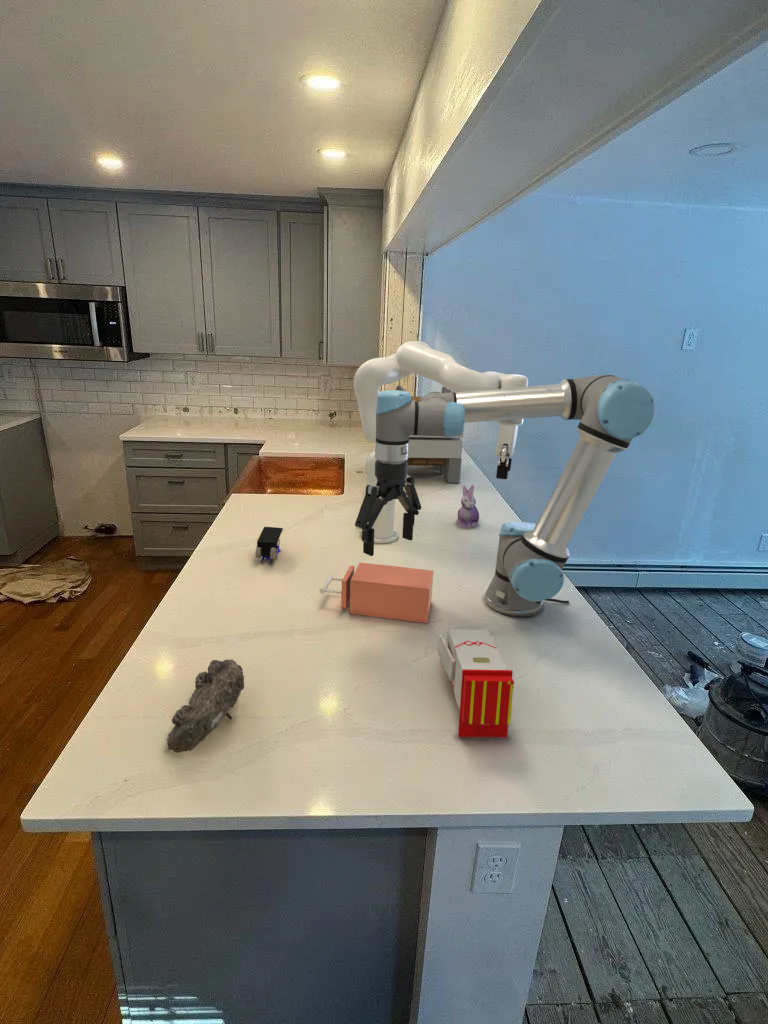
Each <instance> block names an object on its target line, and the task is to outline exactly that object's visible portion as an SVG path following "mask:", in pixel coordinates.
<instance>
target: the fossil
mask: <svg viewBox="0 0 768 1024" xmlns="http://www.w3.org/2000/svg"><path fill="white" fill-rule="evenodd" d="M243 670H244V669H243V667H242V665H240V664H237V662H236V661H235V660H234V659H232V658H231V659H227V658H226V659H224V660H223V661H222V660H217V659H212V660H211V661H210V663H209V665H208V666H207V671H201V672H199V673H198V674H197V675H196V676H195V680H194V684H195V685H194V687H195V689H194V690H193V693H192V694H191V697H190V698H189V700H188V704H184V705H182V706H181V707H180V709H177V710H176V711H175V713H174V715H173V716H172V718H171V723H172V724H173V727H172V730H171V731H170V732H168V734H167V738H166V741H167V742H166V745H167V749H168V750H169V751H173V752H174V753H176V754H178V753H182V752H188V751H189V752H192V751H193V750H195V748H196V747H197V746H199V744H200V743H201V742H203V741H204V740H205V739H206V738H207V737H208V736H209V735H210V734H211V733H212V732H214V730H215V729H217V727H218V726H219V724H220V722H221V721H222V720H223V719H224V718H225V716H226V717H227V719H229V720H233V717H232V715H230V714H229V710H230V709H231V708H234V706H235V704H236V703H237V702H238V699H239V697H240V695H241V693H242V691H243V690H245V689H244V688H245V675H244V671H243Z"/></svg>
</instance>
